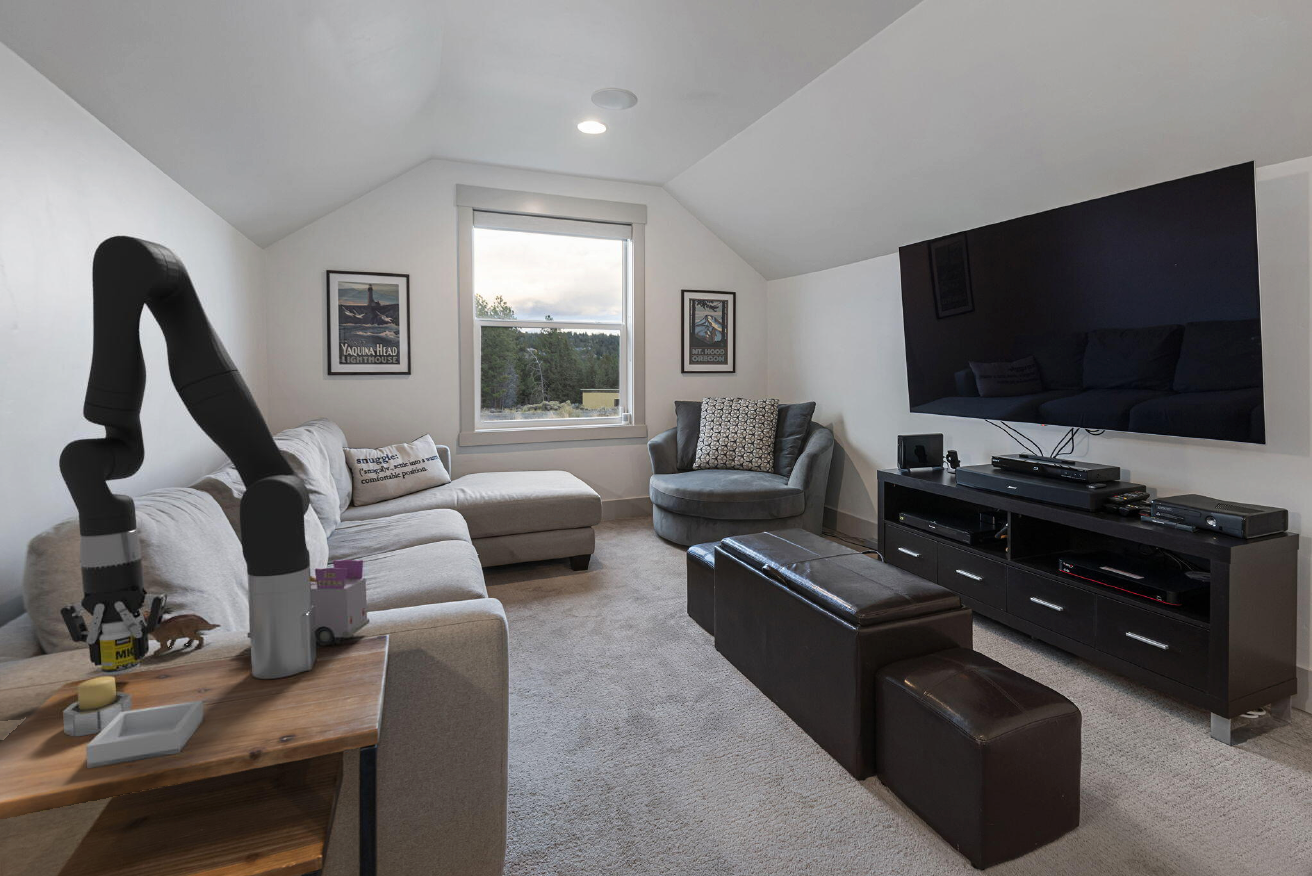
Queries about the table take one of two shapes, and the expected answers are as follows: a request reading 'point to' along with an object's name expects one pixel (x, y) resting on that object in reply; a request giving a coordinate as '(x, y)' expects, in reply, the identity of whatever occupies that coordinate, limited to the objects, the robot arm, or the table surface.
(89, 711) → the socket
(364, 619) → the toy vehicle
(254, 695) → the table surface
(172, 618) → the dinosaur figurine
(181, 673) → the table surface
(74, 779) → the table surface
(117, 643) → the supplement bottle
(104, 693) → the yellow rounded lump
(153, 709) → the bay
